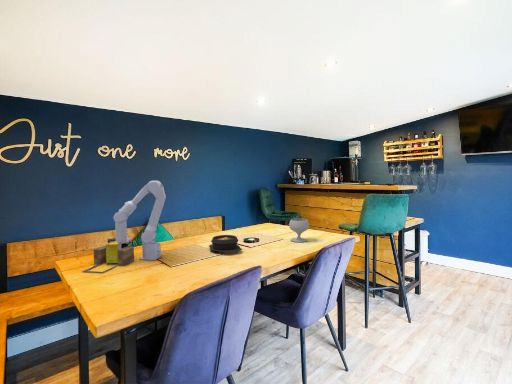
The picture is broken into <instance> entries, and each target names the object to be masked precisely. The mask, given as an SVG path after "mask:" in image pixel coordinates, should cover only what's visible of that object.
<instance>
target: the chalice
mask: <svg viewBox="0 0 512 384" xmlns="http://www.w3.org/2000/svg"><path fill="white" fill-rule="evenodd" d="M288 227H289V229H290V230H291V231H293V232H295V234H297V237H292V238H290V242H295V243H304V242H308V241H309V240H308V239H307V238H302V237H301V234H303V233H304V232H306V231H308V230H309V228H310V223H309V220H308V219H307V218H291V219H290V220H289V223H288Z"/></svg>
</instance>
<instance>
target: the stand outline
mask: <svg viewBox="0 0 512 384" xmlns="http://www.w3.org/2000/svg"><path fill="white" fill-rule="evenodd" d="M100 266H101V265H100V264H98V265H96V264H95V265H93V266H92V267H89V268H87V269H84V270H83V271H81V272H82V273H87V274H88V273H90V274H105V273H107V272H109V271H111V270H113V269H115V268H117V267H119V266H118V264H115V265H114V266H112V267H110V268H107V269H106V270H103V271H95V270H93V271H92V269H94V268H97V267H100Z"/></svg>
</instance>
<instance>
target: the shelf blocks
mask: <svg viewBox="0 0 512 384" xmlns="http://www.w3.org/2000/svg"><path fill="white" fill-rule="evenodd" d="M133 262H135V247H134V246H128V247H125V248H122V249H120V250H118V264H117V265H118V266H117V267H119V266H121V267H126V266H127V265H129V264H132V263H133ZM105 263H106V264H107V261H106V245H103V246H102V245H101V246H99V247H96V248H93V265H95V266H96V265H98V264H100V265H99V266H101V265H103V264H105Z"/></svg>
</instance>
